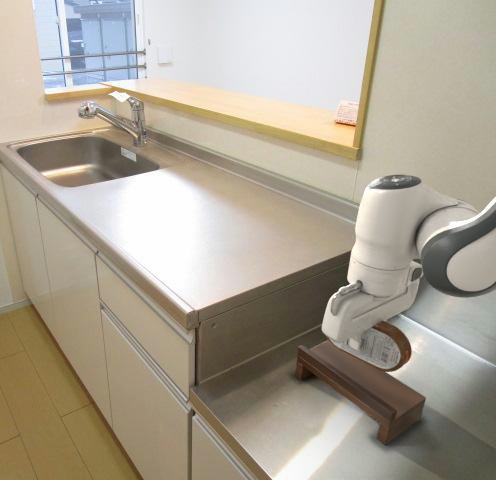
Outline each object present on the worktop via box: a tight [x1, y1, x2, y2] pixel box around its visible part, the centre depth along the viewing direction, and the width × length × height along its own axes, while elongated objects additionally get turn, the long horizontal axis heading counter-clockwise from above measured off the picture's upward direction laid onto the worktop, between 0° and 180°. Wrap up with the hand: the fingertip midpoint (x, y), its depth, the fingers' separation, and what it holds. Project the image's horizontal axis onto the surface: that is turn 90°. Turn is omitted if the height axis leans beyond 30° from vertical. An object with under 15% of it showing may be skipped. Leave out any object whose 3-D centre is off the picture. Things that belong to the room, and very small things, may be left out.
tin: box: [325, 321, 413, 373], centre depth 79 cm, size 15×3×8 cm, turn 42°
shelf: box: [294, 339, 427, 446], centre depth 83 cm, size 10×20×7 cm, turn 32°
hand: (363, 342), depth 79 cm, fingers closed on tin, 3 cm apart
